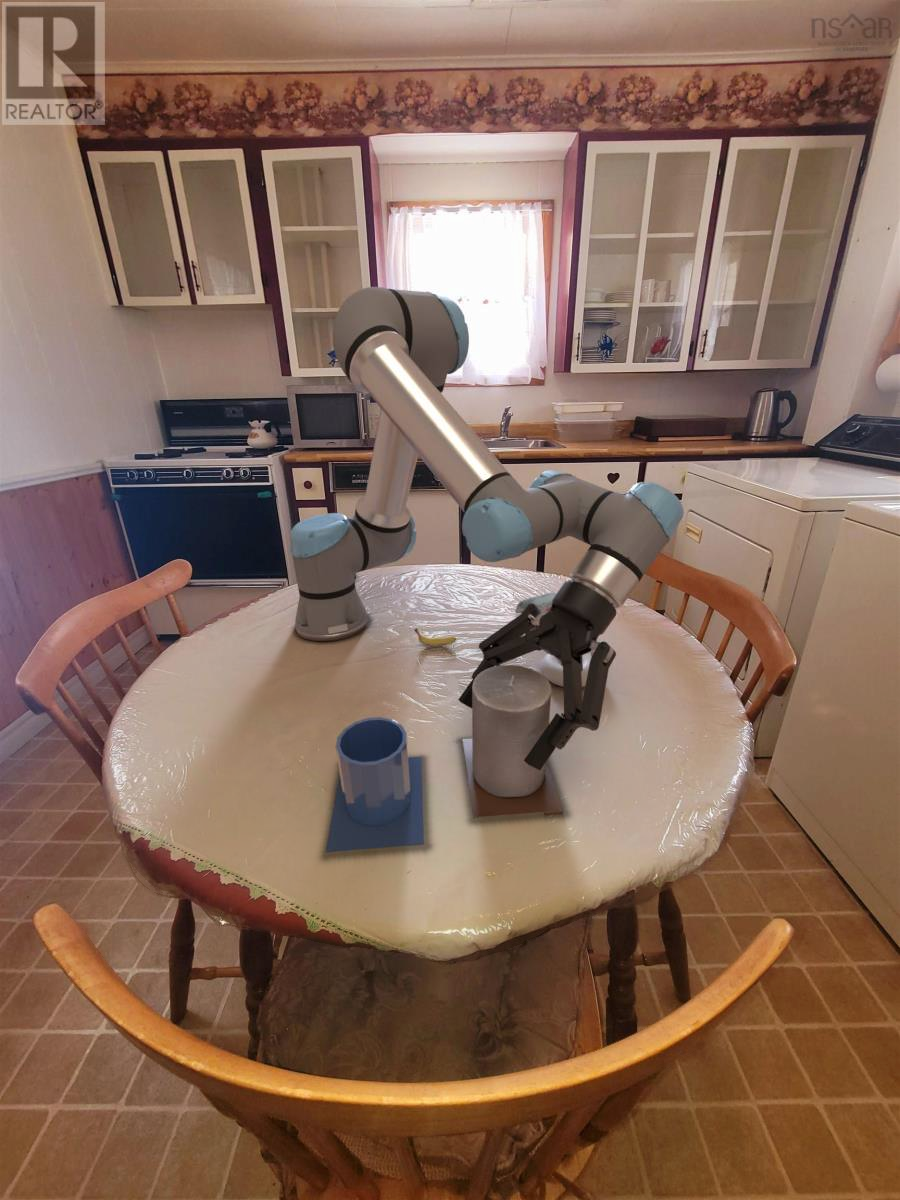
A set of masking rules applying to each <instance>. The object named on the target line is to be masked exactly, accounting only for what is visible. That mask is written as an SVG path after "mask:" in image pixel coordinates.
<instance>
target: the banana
mask: <svg viewBox="0 0 900 1200" xmlns="http://www.w3.org/2000/svg"><path fill="white" fill-rule="evenodd" d="M414 633H416V634H417V636H418V641H419V643H420V644H422V645H423V646H426V647H427V646H428V647H445V646H448V645H452V644H454V643H455V642H456V641H457V637H455V636H445V637H427V636H425V635H422V634H421V633H420V632H419V629H418V628H414Z"/></svg>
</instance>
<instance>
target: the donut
mask: <svg viewBox="0 0 900 1200" xmlns="http://www.w3.org/2000/svg"><path fill="white" fill-rule="evenodd" d="M590 660H591V654H589V653H587V654H584V655H582V661H583V671H581V677H582V688H585V686H586V680H587V675H588V670H589V664H590ZM540 663H541V664H540V668H541V674H542V675H543V676H544V677H545V678H546V679H547V680H548V681H549V682H551V683H552V684H554V685H556V686H559V687H561V688H563V665H562V663H561V661H559V660H558V659H557V658H556V657H554V656H553V655H550V654H548V653H546V655H544V657H543V658H542V661H541V662H540Z"/></svg>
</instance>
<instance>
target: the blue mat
mask: <svg viewBox="0 0 900 1200" xmlns="http://www.w3.org/2000/svg"><path fill="white" fill-rule="evenodd" d="M409 768H410V781H411V801H410V804H409V807H408V808H407V810H406V811H405V812H404V814H403V815H402V816H400V817H399V818H398V819H396V820H395V821H393V822H391V823H388V824H385V825H380V826H367V825H362V824H360V823H358V822H356V821H354V820H353V819H352V818H351V817H350V816H349V814H348V813H347V810H346V806H345V802H344V797H343V791H342V784H341V778H340V774H339V775H338V781H337V786H336V791H335V792H336V793H335V798H334V804H333V809H332V815H331V821H330V826H329V831H328V832H329V833H328V837H327V843H326V848H325V853H335V852H345V851H346V852H347V851H357V850H371V849H383V848H384V849H385V848H394V847H395V848H396V847H407V846H418V845H419V846H420V845H424V844H425V840H424V839H425V838H424V837H425V835H424V804H423V803H424V802H423V801H424V800H423V769H422V756H412V757H411V756H409Z"/></svg>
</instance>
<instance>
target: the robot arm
mask: <svg viewBox="0 0 900 1200" xmlns="http://www.w3.org/2000/svg"><path fill="white" fill-rule="evenodd" d="M332 346H333V350H334V355H335V358H336V360H337V362H338V365H339V368H341V371H342V372H343V373H344V375H345V376H346V378H347V379H348V380H349V382H350V383H351V384H352V386H353V387H354V388H355V389H356V390H357V391H358V392H360V393H362V394H366V395H370V397H371V398H372V399H373V401H374V402H375V403H376V404H377V406H378V407H379V408H380V411H379V416H378V421H377V428H376V433H375V438H374V444H373V450H372V456H371V462H370V467H369V473H368V479H367V484H366V489H365V495H364V496H362V497H360V498H359V499H358V501H357V502H356V505H355V510H354V515H353V516H351V517H347V516H346V515H344V514H342V513H337V512H329V513H325V514H316V515H313V516H310V517H307V518H304V519H302V520H301V521H298V522H297V523H295V525H294V526H293V527H292V528H291V530H290V533H289V537H290V554H292V561H293V566H294V572H295V577H296V582H297V588H298V595H299V598H298V603H297V609H296V614H295V630H296V633H297V635H299V636H300V637H301V638H303V639H305V640H309V641H313V642H333V641H338V640H343V639H347V638H349V637H352V636H354V635H356V634H358V633H360V632H361V631H362V630H365V628H366V627H367V625H368V623H369V622H368V620H369V619H368V612H367V610H366V607H365V605H364V603H363V601H362V599H361V596H360V595H359V593H358V591H357V587H356V581H355V580H356V578H357V574H358V573H361V572H364V571H368V570H371V569H374V568H377V567H381V566H384V565H387V564H392V563H396V562H398V561H399V560H401V559H403V558H405V557H407V556H408V555H410V553H411V552H412V551H413V549H414V547H415V546H416V545H415V544H416V540H417V530H416V529H415V527H416V522H415V520H414V518H413V516H412V513H411V511H410V508H409V507H408V506H407V502H408V498H409V495H410V491H411V487H412V484H413V483H412V482H413V478H414V474H415V470H416V466H417V462H418V459H419V458H420V459H421V461H423V463H424V464H425V465H426V466H427V468H428V469H429V471H431V473H432V474H433V475H434V477H435V478H436V479H437V480H438V481H439V483H441V485H442V487H444V489H445V490H446V492H447V493H448V495H450V496H451V498H452V499H453V500H454V501H455V503H456V504H457V505H458V507H459V508H460V509H461V510H462V511H463V513H464V515H463V518H462V521H461V522H462V523H461V531H462V535H463V536H464V537H465V540H466V547H467V548H468V550H469V551H470V553H472V555H473V556H474V557H476V558H477V559H479V560H481V561H483V562H487V563H498V562H502V561H506V560H509V559H514V558H518V557H521V556H522V555H523V554H525V553H527V552H530V551H532V550H535V549H537V548H539V547H542V546H546V545H549V544H551V543H554V542H558V541H559V540H562V539H564V538H567V537H572V538H574V539H576V540H577V541H580V542H583V543H585V544H586V545H589V548H588V549H587V550H586V551H585V553H584V555H583V556H582V557H581V558H580V559H579V562H578V563H577V564H576V565H575V567H574V568H573V570H572V571H571V572H570V574H569V577H570V579H571V580H570V579H568V580H565V582H564V583H563V584H562V586H561V587H560V588H559V590H558V591H557V592H556V593H555V594H556V595H555V597H554V598H553V600H552V606H551V609H550V610H549V611H548V612H546V613H545V614H544V613H543V612H542V611H541V610H540V609H539V608H538V607H537V606H535V605H534V604H533V603H532V604H529V605H528V606H527V608H526V609H525V610H524V611H523V612H522V613H520V614H519V615H518V616H517V617H515V618H514V619H512V620H511V621H509V622H508V623H506V624H505V625H503V626H502V627H500V628H499V629H497V630H496V631H495V632H494V633H492V634H490V636H487V638H485V639H484V640H482V641H480V643H478V649H479V650H480V651H481V652H482V655H483V658H482V660H481V661H480V663H479V664H478V666H477V667H476V668H475V670H474V671H473V673H472V676H471V681H470V682H469V683H468V684H467V686H466V688H465V689H464V691H462V693H461V695H460V696H459V698H458V699H457V700H458V701H459V702H460V703H461V704H463V705H465V706H466V707H468V708H470V709H472V685H473V681H474V679H475V678H476V676H477V675H478V674H479V673H481V672H482V671H484V670H486V669H488V668H491V667H495V666H500V665H503V664H504V663H507V662H510V661H512V660H514V659H517V658H520V657H522V656H524V655H527V654H529V653H532V652H535V651H543V652H545V653H546V654H550V655H553V656H554V657H556V658H557V659H558V660H559V661H561V663H562V665H563V687H562V688H563V713H562V712H561V713H560V714H559V713H555V715H554V717H553V718H552V719H551V720H550V721H549V725H548V726H547V728H546V729H545V731H544V732H543V734H542V735H541V736H540V738H539V739H538V741H537V742H536V744H535V745H534V746H533V748H532V749H531V751H530V752H529V754H528V755H527V756H526V758H525V759H524V761H525V762H526V763H527V764H528V765H530V766H532V767H534V768H536V769H538V770H541V768H542V767H543V766H544V764H545V763H546V761H548V760H549V758H550V757H551V756H552V754H553V753H554V751H555V750H556V749H557V750H563V749H564V748H565V746H566V745H567V743H568V742H569V740H570V739H571V738H572V737H573V735H574V734H575V732H576V731H577V730H578V729H579V728H584V729H588V730H590V731H593V732H595V731H597V730H598V729H599V727H600V721H601V717H602V711H603V706H604V700H605V699H604V698H605V692H606V687H607V681H608V676H609V671H610V670H609V669H610V667H611V665H612V664H613V662H614V660H615V658H616V656H617V651H615V649H614V648H613V647H611V645H610V644H609V643H608V642H607V641H600V642H599V641H597V640H598V638H599V636H601V635H603V634H604V633H605V632H606V631H607V629H608V628H609V627H610V625H611V624H612V622H613V621H614V619H615V618H616V616H617V609H619V608H622V607H623V605H624V604H625V603H626V602H627V600H628V599H629V597H630V596H631V594H632V593H633V591H634V590H635V589H636V587H637V586H638V584H639V583H640V581H641V580H642V578H643V577H644V576H645V574H646V572H647V571H648V570H649V568H650V567H651V566H652V564H653V563H654V562H655V560H656V559H657V557H658V556H659V555H660V553H662V551H663V550H664V548H665V546H666V545H667V544H669V543H670V541H671V537H672V536H673V534H674V533H675V531H676V529H677V528H678V526H679V524H680V523H681V521H682V520H683V517H684V513H685V510H684V506H683V504H682V502H681V500H680V499H679V498H678V496H677V495H676V494H674V493H673V492H672V491H671V490H670V489H668V488H667V487H664V486H663V485H660V484H658V483H656V482H645V481H640V482H637V483H635V484H633V486H632V487H631V488H630V489H629V490H627V492H625V494H624V493H621V492H617V491H616V492H615V491H613V490H611V489H608V488H605V487H602V486H599V485H597V484H594V483H592V482H589V481H587V480H584V479H581V478H579V477H577V476H576V475H573V474H571V473H568V472H561V471H558V470H553V469H548V470H544V471H543V472H541V473H540V475H539V476H538V477H536V478H535V479H534V480H533V481H532V482H531V484H530V486H529V488H526V489H524V487H522V485H521V484H520V483H519V482H518V481H517V480H516V479H515V478H514V477H513V476H512V475H511V473H510V472H509V471H508V470H507V468H506V467H505V466H504V465H503V464H502V462H500V460H499V459H498V458H497V457H496V455H495V454H494V453H493V452H492V451H491V449H489V448H488V446H487V445H486V444H485V442H484V441H482V439H481V437H479V435H477V433H476V432H475V431H474V430H473V429H472V428H471V426H470V425H469V424H468V423H467V422H466V421H465V420H464V418H463V417H462V416H461V415H460V414H459V413H458V412H457V410H456V409H455V408H454V407H453V405H451V404H452V403H450V402H449V401H448V400H447V398H446V396H444V395H443V391H444V388H445V385H446V381H447V377H448V375H451V374H454V373H456V372H457V371H458V370H459V369H461V368H462V367H463V365H464V364H465V362H466V359H467V357H468V353H469V349H470V347H469V346H470V334H469V327H468V323H467V322H466V319H465V315H464V313H463V311H462V309H461V308H460V306H459V305H458V304H457V303H456V302H455V301H454V300H453V299H452V298H451V297H448V296H446V295H441V294H437V293H433V292H431V291H418V290H407V289H394V288H387V287H381V286H369V287H364V288H361V289H359V290H357V291H355V292H353V293H352V294H351V295H349V296H347V298H346V299H345V300H344V301H343V303H342V304H341V306H340V307H339V309H338V310H337V312H336V314H335V318H334V322H333V326H332ZM537 625H539V626H537ZM536 626H537V627H536ZM589 653H590V655H591V660H590V664H589V670H588V675H587V680H586V686H585V687H584V691H583V687H582V677H581V671H583V661H582V655H584V654H589Z"/></svg>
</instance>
